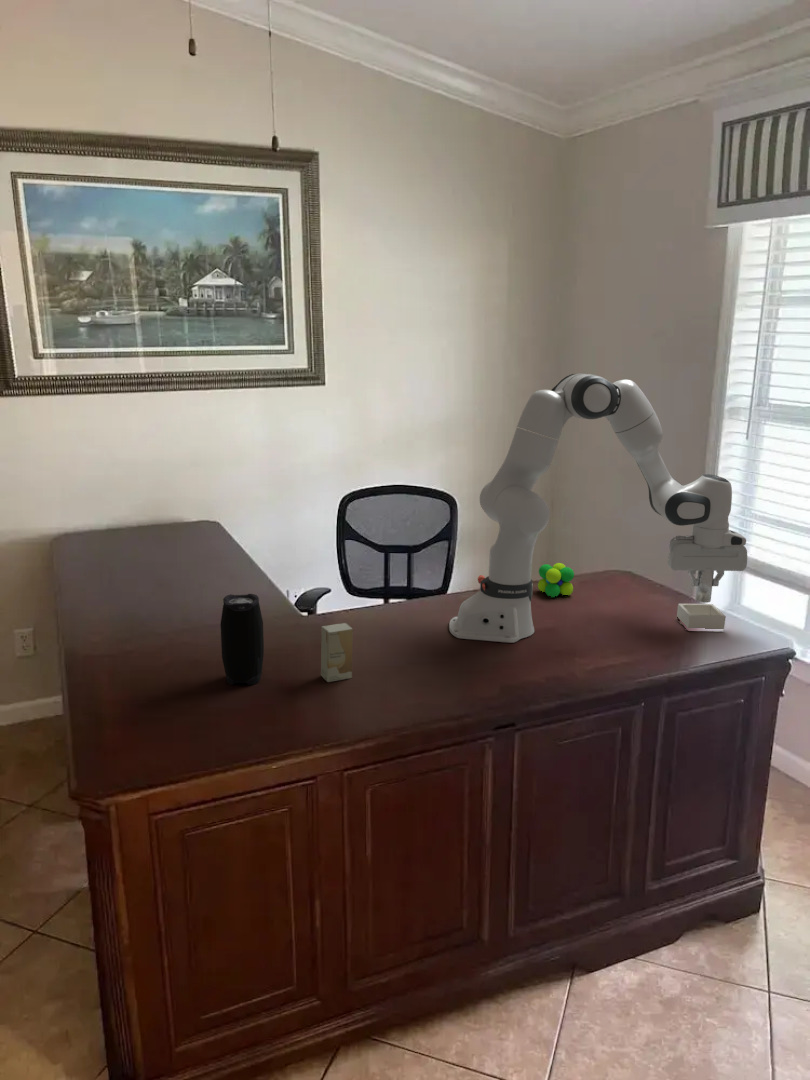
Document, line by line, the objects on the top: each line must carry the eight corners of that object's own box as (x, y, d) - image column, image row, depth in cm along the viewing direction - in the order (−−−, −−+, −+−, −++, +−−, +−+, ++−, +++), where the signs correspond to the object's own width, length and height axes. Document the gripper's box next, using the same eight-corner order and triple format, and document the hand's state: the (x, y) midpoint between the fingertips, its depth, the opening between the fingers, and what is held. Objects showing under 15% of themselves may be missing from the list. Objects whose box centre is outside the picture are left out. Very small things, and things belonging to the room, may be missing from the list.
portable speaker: (216, 678, 196) (212, 597, 191) (252, 668, 202) (250, 589, 197) (234, 691, 190) (231, 607, 185) (271, 680, 196) (269, 599, 190)
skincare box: (327, 683, 195) (327, 632, 192) (320, 675, 199) (319, 626, 195) (353, 678, 198) (353, 628, 194) (345, 670, 201) (345, 621, 198)
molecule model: (549, 600, 252) (575, 597, 255) (550, 571, 250) (577, 568, 253) (534, 590, 260) (560, 588, 263) (536, 563, 258) (562, 560, 261)
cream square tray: (687, 631, 229) (689, 615, 228) (676, 618, 239) (678, 603, 237) (723, 632, 229) (725, 616, 228) (711, 619, 239) (712, 604, 237)
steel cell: (697, 602, 230) (701, 566, 228) (692, 597, 234) (696, 562, 231) (712, 602, 230) (716, 566, 228) (707, 597, 234) (711, 562, 231)
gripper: (674, 538, 224) (669, 589, 228) (752, 539, 224) (746, 589, 228) (667, 532, 230) (662, 581, 234) (743, 533, 231) (737, 582, 234)
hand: (704, 585), depth 231 cm, fingers closed on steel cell, 4 cm apart
